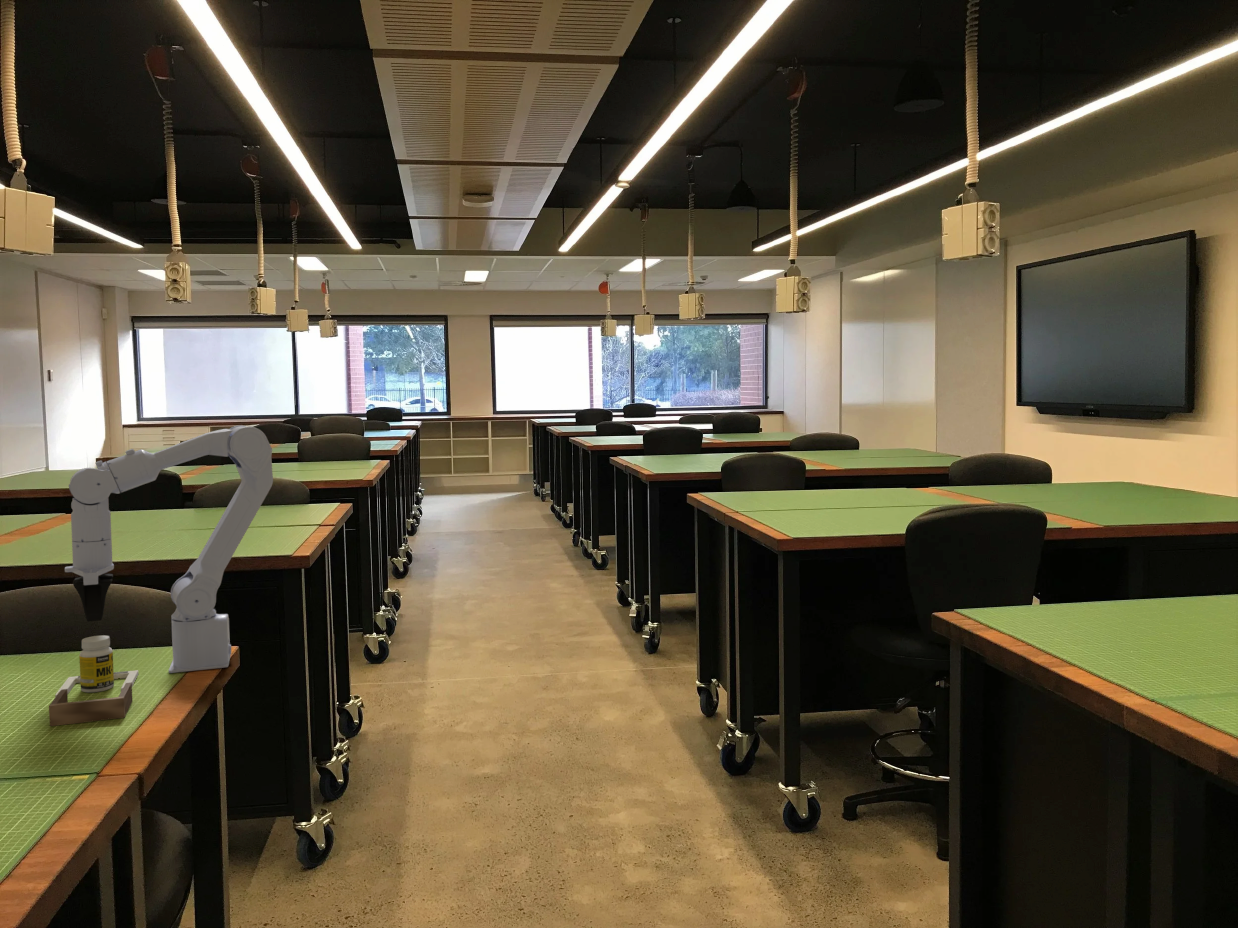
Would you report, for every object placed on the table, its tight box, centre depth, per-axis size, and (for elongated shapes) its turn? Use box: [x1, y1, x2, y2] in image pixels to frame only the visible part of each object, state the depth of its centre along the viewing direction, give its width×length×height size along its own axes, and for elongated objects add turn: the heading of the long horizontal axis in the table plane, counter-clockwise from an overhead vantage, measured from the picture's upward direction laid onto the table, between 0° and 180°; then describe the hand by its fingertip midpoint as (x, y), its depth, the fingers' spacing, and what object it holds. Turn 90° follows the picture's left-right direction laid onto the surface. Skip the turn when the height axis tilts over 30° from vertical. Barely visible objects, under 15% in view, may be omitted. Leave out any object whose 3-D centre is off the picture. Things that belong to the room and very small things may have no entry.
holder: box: [48, 682, 133, 727], centre depth 135 cm, size 10×8×3 cm
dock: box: [54, 669, 139, 698], centre depth 147 cm, size 10×10×1 cm
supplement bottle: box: [78, 634, 115, 693], centre depth 146 cm, size 5×5×8 cm
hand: (94, 619), depth 150 cm, fingers closed
